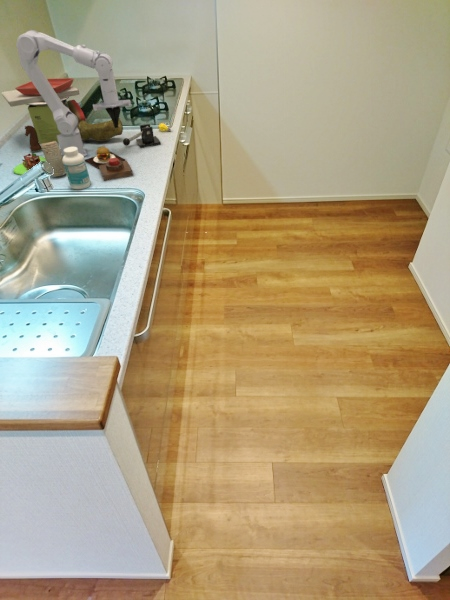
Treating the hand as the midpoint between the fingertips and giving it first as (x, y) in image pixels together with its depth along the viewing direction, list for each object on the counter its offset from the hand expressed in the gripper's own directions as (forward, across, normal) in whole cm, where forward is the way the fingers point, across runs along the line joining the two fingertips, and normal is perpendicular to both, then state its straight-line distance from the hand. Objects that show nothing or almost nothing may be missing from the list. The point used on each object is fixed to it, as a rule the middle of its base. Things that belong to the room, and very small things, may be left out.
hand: (116, 127), depth 162 cm
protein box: (+10, -24, +29) cm, 39 cm away
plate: (-5, -24, +30) cm, 39 cm away
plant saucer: (-9, -22, +29) cm, 38 cm away
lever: (+8, +9, +5) cm, 13 cm away
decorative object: (+4, -12, +25) cm, 28 cm away
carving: (+10, -26, -13) cm, 31 cm away
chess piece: (+10, -33, +18) cm, 39 cm away
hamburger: (+11, -8, -6) cm, 15 cm away
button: (+7, -6, -20) cm, 22 cm away
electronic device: (-7, -25, +33) cm, 42 cm away
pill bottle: (+11, -20, -25) cm, 34 cm away
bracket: (+10, +13, +5) cm, 17 cm away
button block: (+10, -6, -20) cm, 23 cm away
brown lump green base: (+10, -34, -1) cm, 36 cm away
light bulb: (+9, +23, +15) cm, 29 cm away
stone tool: (+4, -4, +22) cm, 23 cm away
